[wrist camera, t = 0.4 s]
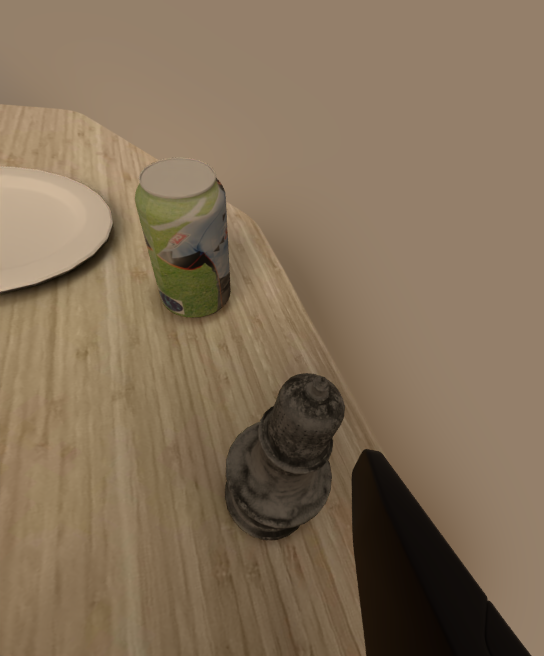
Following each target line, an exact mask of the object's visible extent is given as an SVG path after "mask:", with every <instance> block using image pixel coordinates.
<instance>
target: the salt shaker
mask: <svg viewBox="0 0 544 656" xmlns="http://www.w3.org/2000/svg"><path fill="white" fill-rule="evenodd" d="M344 410H345V405H344V401H343V398H342V396H341V394H340V392H339V391H338V389H337V388H336V387H335V386H334V385H333V384H332V383H331V382H330V381H329V380H327V379H326V378H325V377H322V376H319V375H316V374H308V373H306V374H298V375H295V376H293V377H291V378H290V379H289V380H287V381H286V382H285V383H284V385H283V386H282V388H281V389H280V391H279V394H278V397H277V400H276V402H275V405H274V406H273V407H271V408H270V409H269V410H268V411H266V412H265V414H264V415H263V417H262V419H261V420H260V422H258V423H256V424H254V425H252V426H250V427H248V428H246V429H245V430H244V431H243V432H242V433H240V434H239V435H238V436H237V438H236V439H235V441H234V442H233V444H232V445H231V447H230V450H229V453H228V456H227V459H226V479H227V482H226V487H225V499H226V503H227V508H228V511H229V513H230V515H231V516H232V518H233V520H234V522H235V523H236V524H237V525H238V526H239V527H240V528H241V529H242V530H243V531H245V532H246V533H248V534H249V535H251V536H252V537H256V538H259V539H263V540H277V539H280V538H283V537H286V536H288V535H290V534H291V533H293V532H294V531H295V530H297V529H298V527H299V526H300V525H302V524H305V523H306V522H308V521H309V520H310V519H312V518H313V517H315V516H316V515H317V514H318V513H319V511H320V510H321V509H322V507H323V506H324V505H325V503H326V501H327V498H328V496H329V493H330V490H331V479H332V475H331V469H330V463H329V461H328V460H329V457H330V455H331V452H332V447H333V439H332V437H333V436H334V434H335V433H336V431H337V430H338V428H339V427H340V425H341V423H342V420H343V418H344Z"/></svg>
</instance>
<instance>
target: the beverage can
mask: <svg viewBox="0 0 544 656" xmlns="http://www.w3.org/2000/svg"><path fill="white" fill-rule="evenodd" d="M139 182H140V183H139V185H138V187H137V190H136V194H135V202H136V207H137V211H138V214H139V218H140V222H141V226H142V229H143V233H144V237H145V241H146V244H147V248H148V252H149V255H150V259H151V263H152V267H153V270H154V274H155V278H156V282H157V285H158V289H159V293H160V297H161V300H162V302H163V304H164V305H165V307H166V308H167V309H168V310H170V311H171V312H173V313H175V314H177V315H180V316H184V317H192V318H194V317H202V316H207V315H210V314H212V313H214V312H216V311H218V310H219V309H221V308H222V307H223V306H224V305H225V304H226V302H227V301H228V299H229V296H230V272H229V252H228V233H227V214H226V197H225V191H224V188H223V186H222V184H221V183H220V182H219V180H217V178H216V174H215V171H214V170H213V168H212V167H211V166H210V165H208V164H206V163H205V162H202V161H199V160H196V159H192V158H168V159H163V160H159V161H156V162H154V163H151V164H150V165H148V166H146V167H145V168H144V169H143V170H142V171H141V173H140V175H139Z"/></svg>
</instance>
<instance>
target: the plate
mask: <svg viewBox="0 0 544 656" xmlns="http://www.w3.org/2000/svg"><path fill="white" fill-rule="evenodd" d="M112 226H113V221H112V215H111V210H110V208H109V206H108V205H107V204H106V202H105V201H104V200H103V198H102V197H101V196H100V195H99V194H97V193H96V192H94V191H93V190H91V189H90V188H89V187H87V186H86V185H84V184H82V183H79V182H77V181H75V180H72V179H70V178H67V177H65V176H62V175H58V174H54V173H50V172H46V171H42V170H35V169H27V168H19V167H2V166H0V294H2V293H6V292H10V291H15V290H19V289H23V288H27V287H32V286H36V285H38V284H41V283H43V282H46V281H48V280H51V279H53V278H56V277H58V276H61V275H63V274H66V273H68V272H70V271H71V270H73V269H75V268H76V267H78V266H79V265H81V264H82V263H84V262H85V261H87V260H88V259H90V258H92V257H93V256H94V255H95V254H96V253H97V252H98V251H99V249H100V248H101V247H102V246H103V245H104V244H105V243H106V242H107V240H108V238H109V235H110V232H111V229H112Z"/></svg>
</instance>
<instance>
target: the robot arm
mask: <svg viewBox="0 0 544 656" xmlns="http://www.w3.org/2000/svg"><path fill="white" fill-rule="evenodd" d="M352 531H353V547H354V556H355V564H356V573H357V581H358V589H359V597H360V606H361V614H362V622H363V630H364V639H365V647H366V655H367V656H531V655H530V653H529V652H528V651H527V649H526V648H525V647H524V646H523V644H522V643H521V642H520V640H519V639H518V638H517V636H516V635H515V634H514V632H513V631H512V630H511V628H510V627H509V626H508V624H507V623H506V622H505V620H504V619H503V618H502V616H501V615H500V614H499V612H498V611H497V610H496V608H495V607H494V605H493V604H492V603H491V602H490V601H487V596H486V595H485V593H484V592H483V591H482V589H481V588H480V587H479V585H478V584H477V582H476V581H475V580H474V578H473V577H472V576H471V574H470V573H469V571H468V570H467V569H466V567H465V566H464V565H463V563H462V562H461V561H460V559H459V558H458V556H457V555H456V554H455V553H454V551H453V550H452V548H451V547H450V546H449V544H448V543H447V541H446V540H445V539H444V537H443V536H442V535H441V533H440V532H439V530H438V529H437V528H436V526H435V525H434V524H433V522H432V521H431V520H430V518H429V517H428V515H427V514H426V513H425V511H424V510H423V509H422V507H421V506H420V505H419V503H418V502H417V500H416V499H415V498H414V496H413V495H412V494H411V492H410V491H409V489H408V488H407V487H406V485H405V484H404V483H403V481H402V480H401V479H400V477H399V476H398V474H397V473H396V472H395V470H394V469H393V468H392V466H391V465H390V464H389V462H388V461H387V459H386V458H385V457H384V455H383V454H382V453H381V452H379V451H374V450H369V449H365V450H363V452H362V453H361V455H360V457H359V459H358V461H357V463H356V465H355V467H354V469H353V472H352Z"/></svg>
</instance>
